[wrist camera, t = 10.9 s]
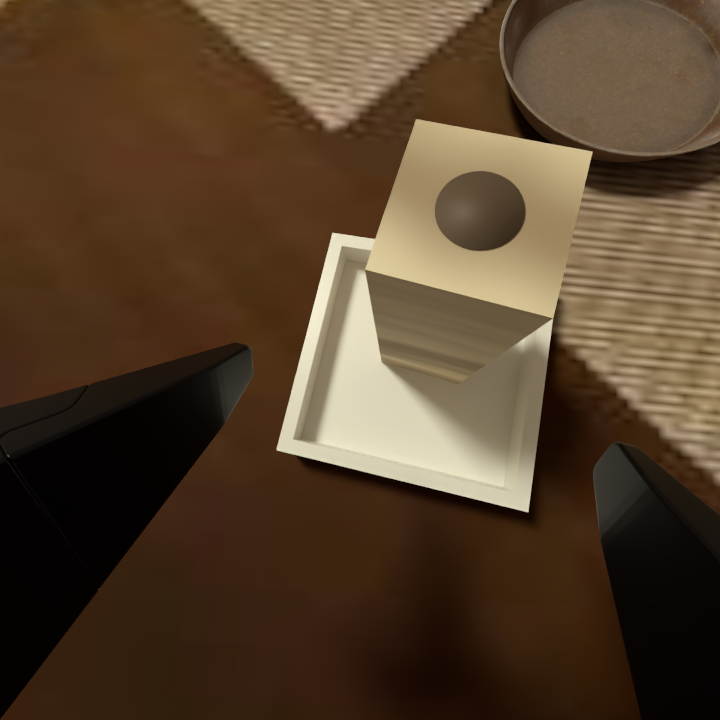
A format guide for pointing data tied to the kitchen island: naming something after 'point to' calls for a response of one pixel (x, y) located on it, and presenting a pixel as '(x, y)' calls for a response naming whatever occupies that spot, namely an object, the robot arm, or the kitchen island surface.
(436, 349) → the maple block
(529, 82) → the plant saucer
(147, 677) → the kitchen island surface
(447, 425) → the tray
